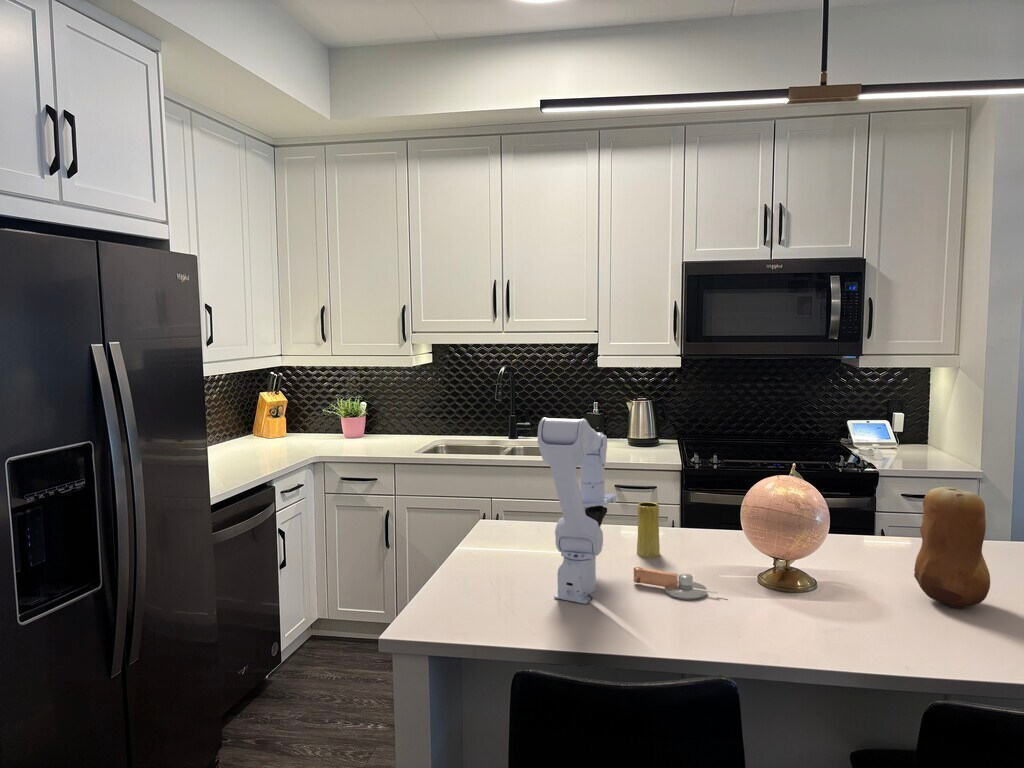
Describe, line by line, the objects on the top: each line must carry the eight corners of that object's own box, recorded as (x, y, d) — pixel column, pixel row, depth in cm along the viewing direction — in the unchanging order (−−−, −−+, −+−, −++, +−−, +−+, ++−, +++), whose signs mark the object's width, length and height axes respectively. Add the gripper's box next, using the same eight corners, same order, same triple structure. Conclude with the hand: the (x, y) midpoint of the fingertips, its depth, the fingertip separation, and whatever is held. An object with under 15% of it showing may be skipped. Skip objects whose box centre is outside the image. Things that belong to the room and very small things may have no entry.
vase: (633, 560, 187) (633, 506, 186) (640, 553, 193) (640, 500, 192) (656, 563, 185) (656, 508, 183) (663, 556, 190) (663, 502, 189)
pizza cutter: (722, 590, 162) (722, 574, 162) (712, 604, 154) (712, 587, 154) (640, 577, 171) (640, 562, 171) (627, 590, 164) (627, 574, 163)
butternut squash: (987, 599, 158) (992, 485, 156) (990, 621, 147) (995, 499, 145) (914, 588, 165) (917, 479, 163) (912, 608, 154) (915, 492, 152)
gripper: (583, 489, 168) (583, 547, 169) (625, 479, 177) (625, 534, 178) (561, 484, 173) (562, 540, 174) (603, 474, 182) (604, 528, 184)
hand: (593, 536), depth 177 cm, fingers closed
